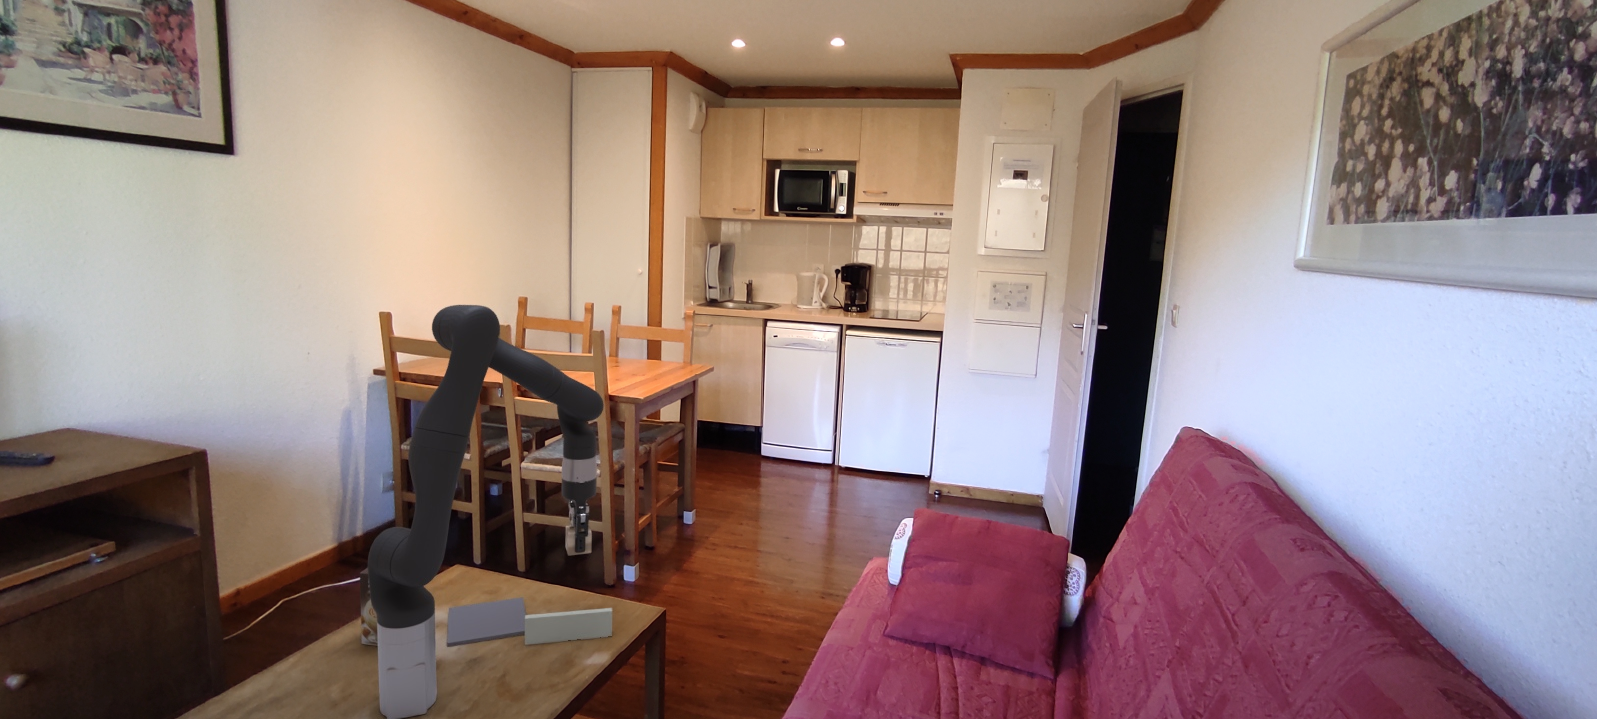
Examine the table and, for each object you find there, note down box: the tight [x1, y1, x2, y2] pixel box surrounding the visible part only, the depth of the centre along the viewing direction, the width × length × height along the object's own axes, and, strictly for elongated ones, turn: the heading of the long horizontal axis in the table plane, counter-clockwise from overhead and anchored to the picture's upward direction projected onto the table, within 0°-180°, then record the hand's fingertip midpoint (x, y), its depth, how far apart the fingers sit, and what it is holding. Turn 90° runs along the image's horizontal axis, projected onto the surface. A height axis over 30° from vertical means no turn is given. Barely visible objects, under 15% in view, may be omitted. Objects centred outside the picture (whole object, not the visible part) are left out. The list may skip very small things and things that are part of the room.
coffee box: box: [359, 566, 378, 647], centre depth 151 cm, size 9×6×16 cm
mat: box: [446, 597, 527, 648], centre depth 161 cm, size 16×16×1 cm
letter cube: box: [565, 524, 593, 556], centre depth 163 cm, size 5×5×5 cm
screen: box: [524, 607, 613, 646], centre depth 156 cm, size 2×18×6 cm, turn 107°
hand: (578, 546), depth 163 cm, fingers closed on letter cube, 5 cm apart
